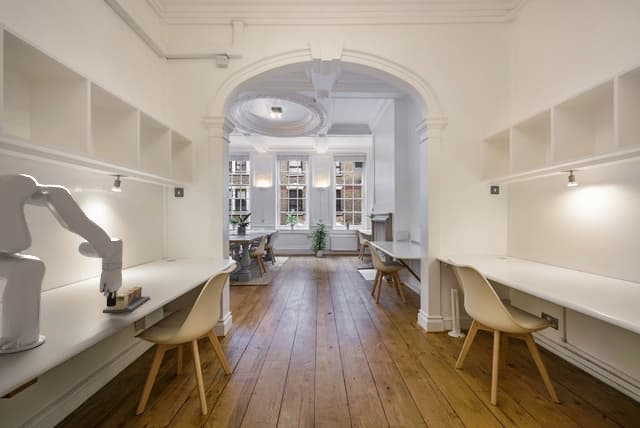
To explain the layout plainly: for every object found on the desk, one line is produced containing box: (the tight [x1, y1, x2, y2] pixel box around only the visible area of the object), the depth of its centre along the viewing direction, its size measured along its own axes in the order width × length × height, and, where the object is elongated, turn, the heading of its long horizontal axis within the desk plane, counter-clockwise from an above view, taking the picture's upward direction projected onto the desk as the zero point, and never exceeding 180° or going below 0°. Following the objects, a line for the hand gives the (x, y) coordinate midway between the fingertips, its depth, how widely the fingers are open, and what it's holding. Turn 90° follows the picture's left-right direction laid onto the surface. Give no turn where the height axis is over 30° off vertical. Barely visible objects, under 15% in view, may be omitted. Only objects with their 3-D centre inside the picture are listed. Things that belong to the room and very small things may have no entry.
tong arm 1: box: [122, 286, 139, 294], centre depth 149 cm, size 15×2×5 cm, turn 10°
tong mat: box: [102, 295, 151, 314], centre depth 146 cm, size 22×12×1 cm, turn 10°
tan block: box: [108, 293, 128, 310], centre depth 136 cm, size 4×7×6 cm, turn 100°
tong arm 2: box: [127, 286, 143, 304], centre depth 150 cm, size 15×2×5 cm, turn 10°
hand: (111, 306), depth 130 cm, fingers closed
